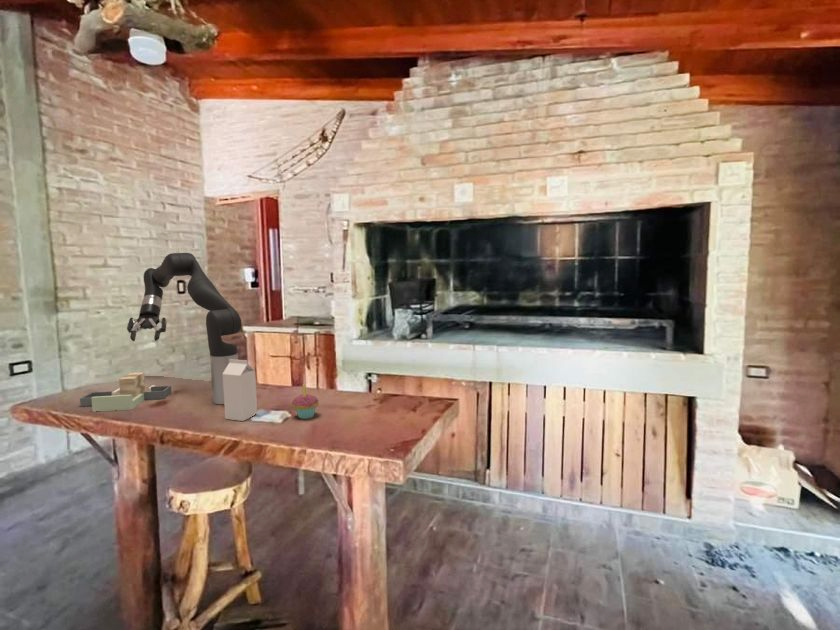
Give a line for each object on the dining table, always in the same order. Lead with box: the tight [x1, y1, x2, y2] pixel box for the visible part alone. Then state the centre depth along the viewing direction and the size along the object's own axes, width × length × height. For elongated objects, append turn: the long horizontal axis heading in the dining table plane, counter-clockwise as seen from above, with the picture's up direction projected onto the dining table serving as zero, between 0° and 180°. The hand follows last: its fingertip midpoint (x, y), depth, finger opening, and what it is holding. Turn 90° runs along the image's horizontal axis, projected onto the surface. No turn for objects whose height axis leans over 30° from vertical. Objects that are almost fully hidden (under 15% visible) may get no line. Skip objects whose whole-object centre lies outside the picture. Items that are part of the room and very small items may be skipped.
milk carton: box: [223, 359, 258, 422], centre depth 161 cm, size 7×7×19 cm
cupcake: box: [291, 381, 319, 420], centre depth 162 cm, size 9×8×12 cm
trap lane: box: [79, 384, 172, 413], centre depth 182 cm, size 23×26×5 cm
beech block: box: [118, 371, 147, 399], centre depth 188 cm, size 10×5×8 cm, turn 9°
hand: (144, 340), depth 206 cm, fingers open, 8 cm apart
